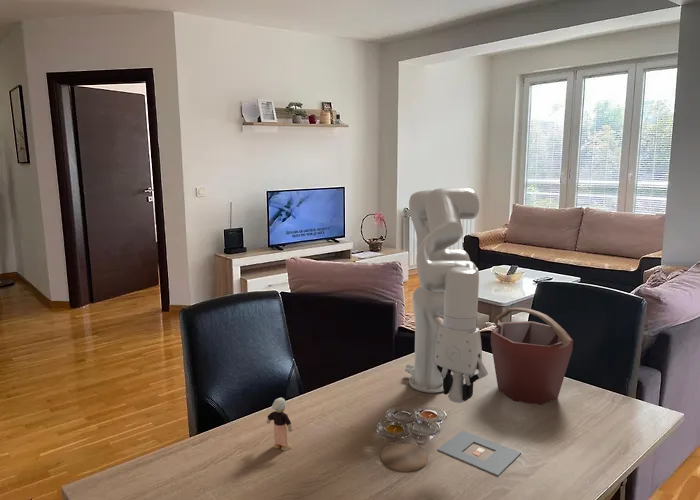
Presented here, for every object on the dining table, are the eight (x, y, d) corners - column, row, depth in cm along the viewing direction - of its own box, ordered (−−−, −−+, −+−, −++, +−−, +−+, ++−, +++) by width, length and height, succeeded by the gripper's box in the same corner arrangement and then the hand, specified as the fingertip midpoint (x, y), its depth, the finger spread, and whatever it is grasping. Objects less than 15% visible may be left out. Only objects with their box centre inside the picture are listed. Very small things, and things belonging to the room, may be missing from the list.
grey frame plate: (437, 450, 131) (437, 449, 131) (462, 431, 140) (462, 430, 140) (497, 476, 120) (498, 475, 120) (521, 453, 129) (521, 452, 129)
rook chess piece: (467, 404, 124) (468, 371, 123) (447, 402, 125) (449, 370, 123) (466, 395, 128) (468, 363, 127) (447, 394, 129) (448, 362, 128)
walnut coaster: (371, 459, 127) (371, 457, 127) (399, 440, 135) (399, 438, 135) (409, 477, 120) (409, 475, 120) (436, 456, 128) (436, 454, 128)
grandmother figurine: (297, 444, 133) (296, 397, 131) (291, 453, 130) (290, 404, 127) (270, 439, 136) (268, 392, 134) (262, 447, 132) (261, 399, 130)
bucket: (474, 380, 170) (477, 304, 166) (532, 370, 178) (536, 297, 173) (524, 415, 148) (529, 328, 143) (587, 402, 155) (595, 319, 150)
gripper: (420, 318, 126) (418, 390, 129) (486, 333, 115) (483, 412, 118) (436, 310, 131) (434, 380, 135) (502, 324, 121) (498, 400, 124)
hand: (457, 394), depth 126 cm, fingers closed on rook chess piece, 4 cm apart
